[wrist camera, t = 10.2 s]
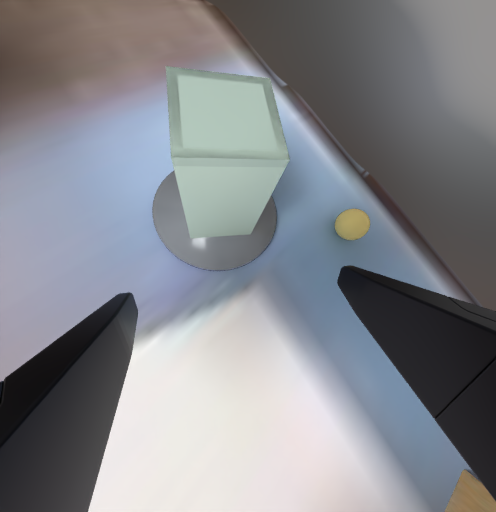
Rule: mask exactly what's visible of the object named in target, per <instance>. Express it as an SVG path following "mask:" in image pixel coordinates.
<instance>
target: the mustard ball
mask: <svg viewBox="0 0 496 512" xmlns="http://www.w3.org/2000/svg"><path fill="white" fill-rule="evenodd" d="M369 227H370V219H369V217H368V215H367V214H366V213H365V212H364V211H362V210H359V209H348V210H345V211H344V212H342V213H341V214H340V215H339V216H338V217H337V219H336V221H335V230H336V232H337V234H338V235H339V236H340V237H342V238H343V239H346V240H356V239H359V238H361V237H363V236H364V235H365V234H366V233H367V232H368V230H369Z"/></svg>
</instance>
